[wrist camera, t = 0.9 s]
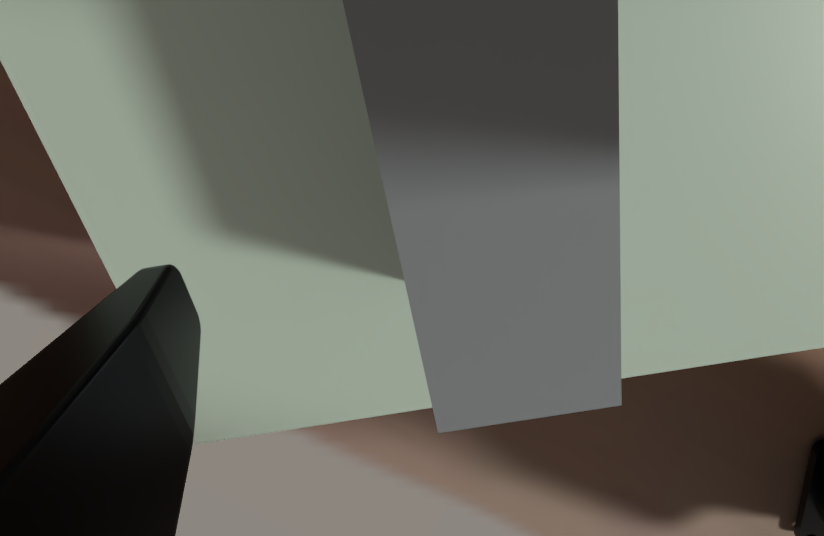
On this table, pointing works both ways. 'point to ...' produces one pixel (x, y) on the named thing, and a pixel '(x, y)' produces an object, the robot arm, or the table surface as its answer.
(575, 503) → the table surface
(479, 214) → the lid
